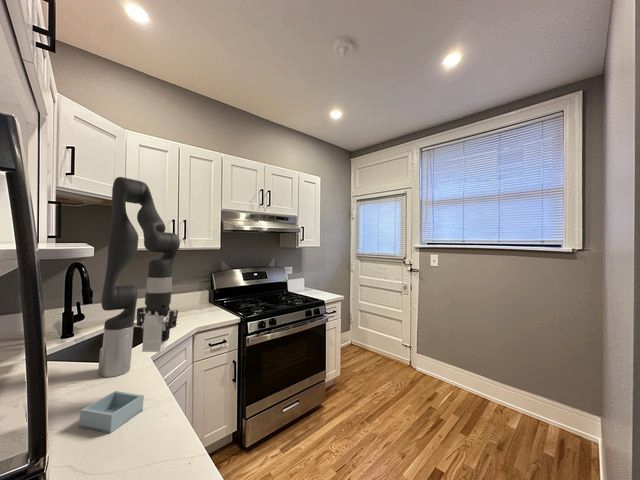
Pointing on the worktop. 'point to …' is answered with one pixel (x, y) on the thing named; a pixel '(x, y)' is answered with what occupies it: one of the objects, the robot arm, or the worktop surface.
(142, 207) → the robot arm
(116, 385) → the worktop surface
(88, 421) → the tray
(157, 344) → the skincare box
